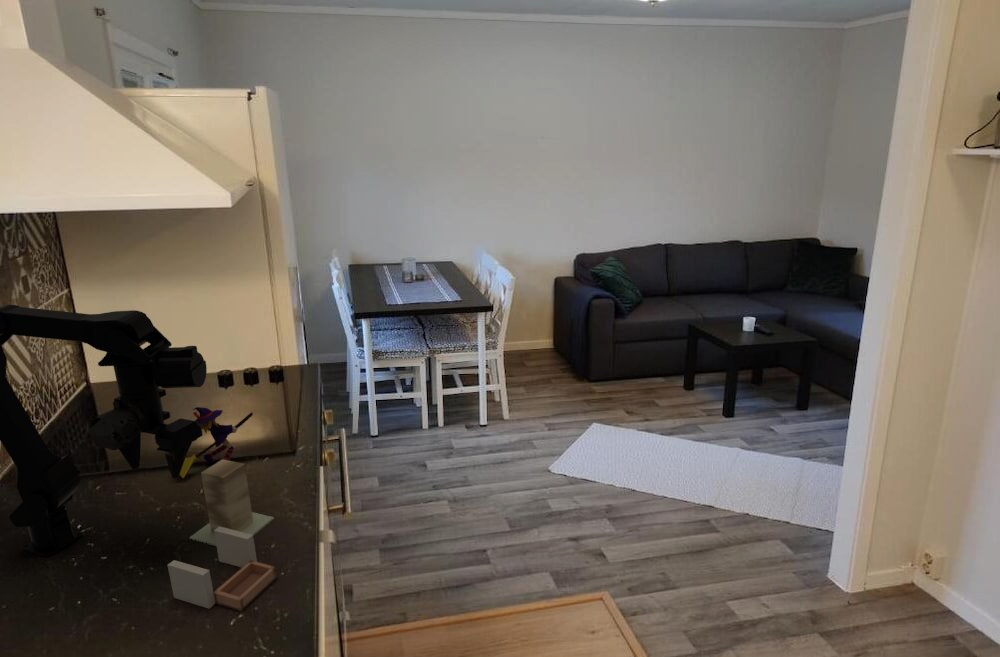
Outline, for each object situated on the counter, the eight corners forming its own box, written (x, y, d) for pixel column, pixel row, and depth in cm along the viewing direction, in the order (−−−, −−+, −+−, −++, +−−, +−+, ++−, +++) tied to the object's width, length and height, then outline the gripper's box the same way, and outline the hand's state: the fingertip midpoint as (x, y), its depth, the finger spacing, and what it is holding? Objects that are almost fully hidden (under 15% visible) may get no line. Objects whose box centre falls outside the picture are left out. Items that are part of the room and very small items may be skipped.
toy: (274, 442, 135) (232, 389, 129) (194, 499, 129) (146, 446, 123) (268, 430, 142) (228, 379, 135) (192, 484, 136) (146, 433, 130)
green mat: (189, 539, 110) (189, 537, 110) (231, 508, 119) (231, 507, 119) (234, 551, 107) (234, 549, 107) (274, 519, 116) (273, 517, 116)
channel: (174, 597, 96) (167, 564, 95) (224, 556, 106) (219, 526, 104) (209, 608, 94) (203, 575, 92) (257, 566, 103) (252, 534, 101)
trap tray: (215, 603, 95) (213, 592, 94) (252, 570, 102) (250, 560, 102) (241, 611, 93) (239, 600, 93) (277, 577, 100) (275, 567, 100)
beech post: (211, 532, 112) (200, 472, 108) (231, 516, 116) (222, 459, 113) (233, 538, 110) (223, 477, 106) (253, 522, 114) (244, 463, 111)
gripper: (50, 399, 99) (72, 487, 103) (138, 415, 92) (156, 508, 97) (114, 375, 109) (131, 455, 113) (197, 388, 102) (211, 473, 107)
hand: (155, 472), depth 107 cm, fingers open, 9 cm apart
